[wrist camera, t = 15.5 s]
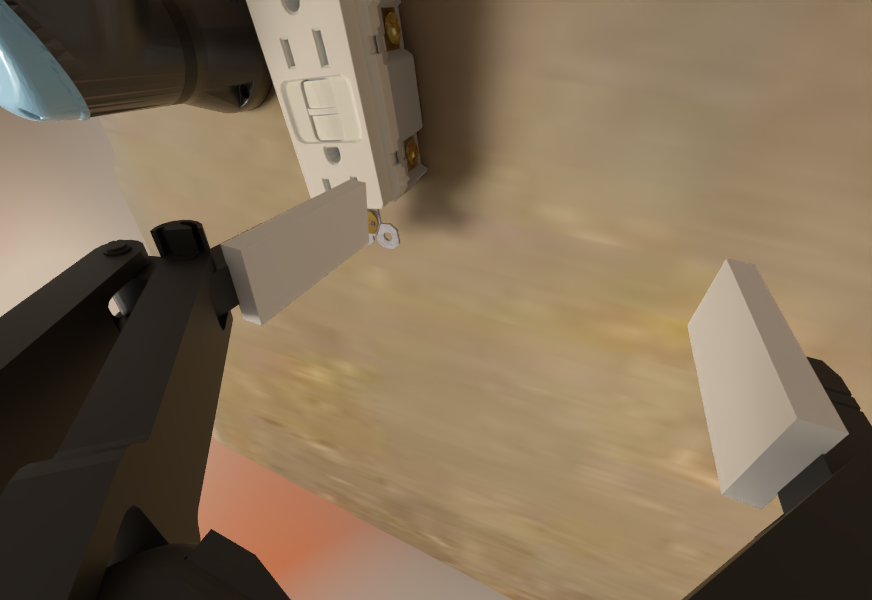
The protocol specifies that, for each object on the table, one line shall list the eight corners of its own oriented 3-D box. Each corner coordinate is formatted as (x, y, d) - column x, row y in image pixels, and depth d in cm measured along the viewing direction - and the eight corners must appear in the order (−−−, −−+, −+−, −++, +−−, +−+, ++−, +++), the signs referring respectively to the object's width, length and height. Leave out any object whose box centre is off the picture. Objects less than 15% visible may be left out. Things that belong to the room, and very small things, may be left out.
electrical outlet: (401, -114, 30) (327, -149, 23) (441, 217, 47) (406, 258, 40) (288, -78, 35) (197, -98, 27) (362, 213, 51) (317, 249, 44)
